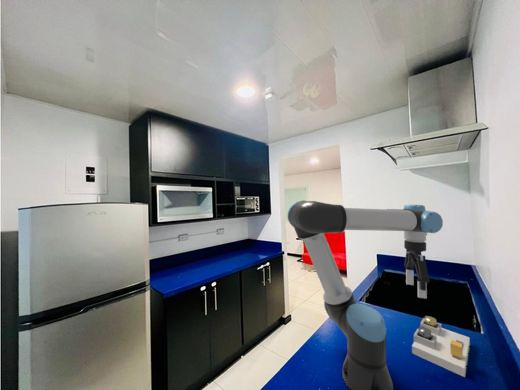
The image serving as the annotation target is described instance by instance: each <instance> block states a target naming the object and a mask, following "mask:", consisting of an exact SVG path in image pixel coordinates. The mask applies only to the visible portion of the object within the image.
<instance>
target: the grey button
mask: <svg viewBox="0 0 520 390" xmlns="http://www.w3.org/2000/svg"><path fill="white" fill-rule="evenodd" d="M418 329H419V336H420V337H422V338H425V339H428V340H431V330H429V329H428V328H425V327H420V326H419V327H418Z"/></svg>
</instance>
